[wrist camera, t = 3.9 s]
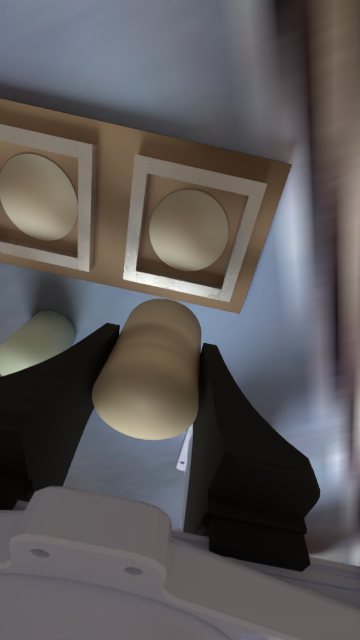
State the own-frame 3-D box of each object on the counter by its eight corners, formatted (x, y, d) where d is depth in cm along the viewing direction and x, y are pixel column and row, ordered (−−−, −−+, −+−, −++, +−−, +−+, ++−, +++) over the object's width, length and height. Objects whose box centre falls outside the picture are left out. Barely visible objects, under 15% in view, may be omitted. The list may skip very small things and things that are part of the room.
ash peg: (192, 368, 16) (186, 447, 11) (123, 354, 16) (91, 429, 11) (209, 307, 14) (209, 376, 9) (129, 291, 14) (93, 352, 9)
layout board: (238, 307, 22) (241, 320, 20) (-14, 253, 21) (-34, 261, 20) (287, 164, 17) (296, 164, 15) (-41, 90, 16) (-71, 81, 15)
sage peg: (75, 352, 26) (48, 391, 21) (33, 343, 26) (-3, 380, 21) (75, 316, 24) (45, 350, 19) (29, 306, 24) (-12, 338, 19)
